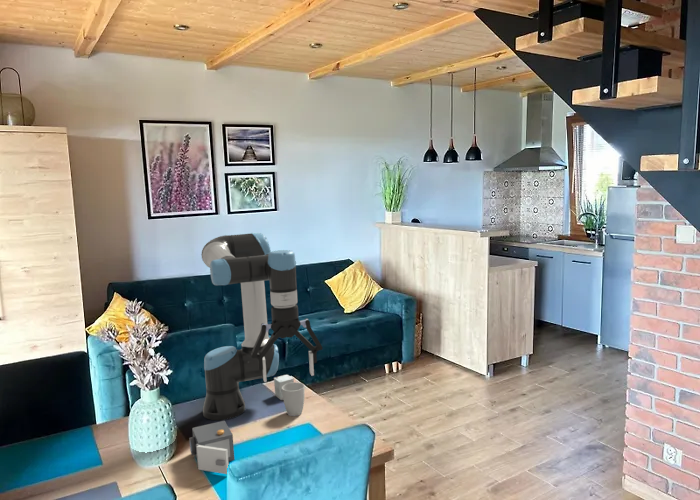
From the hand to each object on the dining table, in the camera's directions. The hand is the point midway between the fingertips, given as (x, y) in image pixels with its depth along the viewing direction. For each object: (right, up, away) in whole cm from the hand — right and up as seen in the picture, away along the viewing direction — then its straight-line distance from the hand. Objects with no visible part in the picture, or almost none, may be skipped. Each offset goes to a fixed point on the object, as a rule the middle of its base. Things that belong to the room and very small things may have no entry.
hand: (288, 377), depth 150 cm
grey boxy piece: (-24, -26, +9) cm, 37 cm away
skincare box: (-8, -21, +53) cm, 58 cm away
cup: (-2, -22, +37) cm, 44 cm away
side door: (-22, -27, -1) cm, 35 cm away
